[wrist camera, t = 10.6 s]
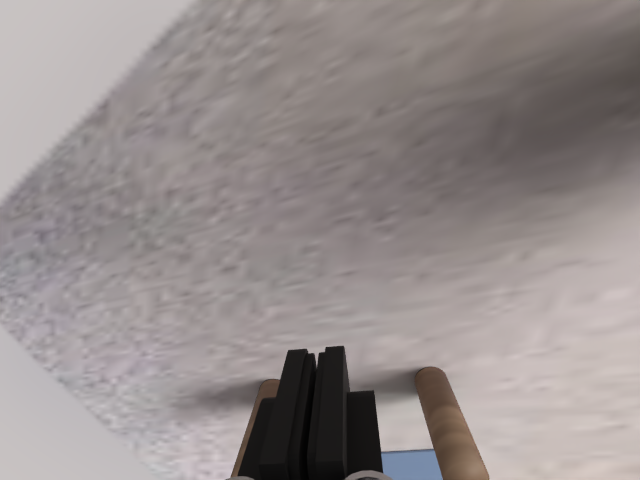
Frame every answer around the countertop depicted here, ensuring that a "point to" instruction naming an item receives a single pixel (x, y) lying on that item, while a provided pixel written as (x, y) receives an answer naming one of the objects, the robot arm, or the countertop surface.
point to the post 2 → (448, 428)
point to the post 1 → (265, 391)
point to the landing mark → (411, 465)
